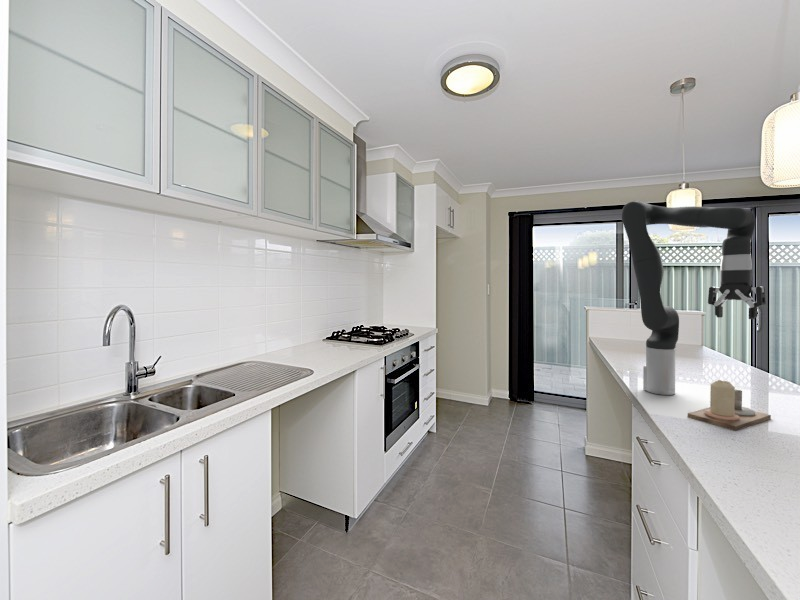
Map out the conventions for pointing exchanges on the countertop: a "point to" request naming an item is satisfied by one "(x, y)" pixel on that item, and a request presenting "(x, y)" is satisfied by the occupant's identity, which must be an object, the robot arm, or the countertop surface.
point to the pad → (726, 418)
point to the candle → (722, 398)
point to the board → (745, 414)
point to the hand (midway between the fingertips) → (735, 318)
